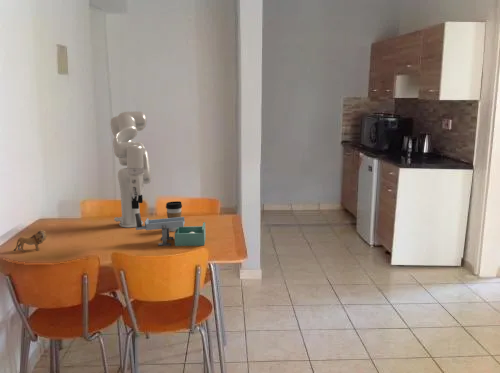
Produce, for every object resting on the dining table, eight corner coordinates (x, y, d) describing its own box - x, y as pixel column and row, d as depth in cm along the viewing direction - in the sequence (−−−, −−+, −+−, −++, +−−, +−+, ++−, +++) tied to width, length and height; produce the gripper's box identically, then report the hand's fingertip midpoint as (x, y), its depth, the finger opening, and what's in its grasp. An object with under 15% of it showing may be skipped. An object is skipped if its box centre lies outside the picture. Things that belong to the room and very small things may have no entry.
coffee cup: (179, 232, 247) (178, 204, 244) (164, 231, 249) (163, 203, 245) (185, 228, 255) (184, 200, 252) (170, 227, 257) (169, 200, 253)
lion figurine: (47, 246, 227) (46, 228, 225) (47, 250, 222) (45, 231, 220) (13, 250, 222) (11, 231, 220) (12, 253, 217) (10, 235, 215)
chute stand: (158, 246, 226) (157, 226, 224) (161, 238, 238) (160, 219, 236) (170, 246, 226) (169, 226, 224) (173, 238, 238) (172, 219, 236)
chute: (135, 231, 227) (133, 216, 225) (138, 226, 234) (136, 212, 232) (183, 226, 227) (181, 211, 225) (184, 222, 234) (183, 207, 233)
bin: (174, 246, 226) (174, 229, 225) (177, 238, 238) (177, 222, 236) (204, 245, 227) (204, 229, 225) (205, 237, 239) (205, 222, 237)
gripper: (140, 174, 216) (142, 210, 220) (146, 167, 233) (148, 200, 237) (123, 174, 216) (125, 211, 220) (131, 167, 233) (133, 200, 237)
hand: (137, 205), depth 228 cm, fingers open, 9 cm apart
